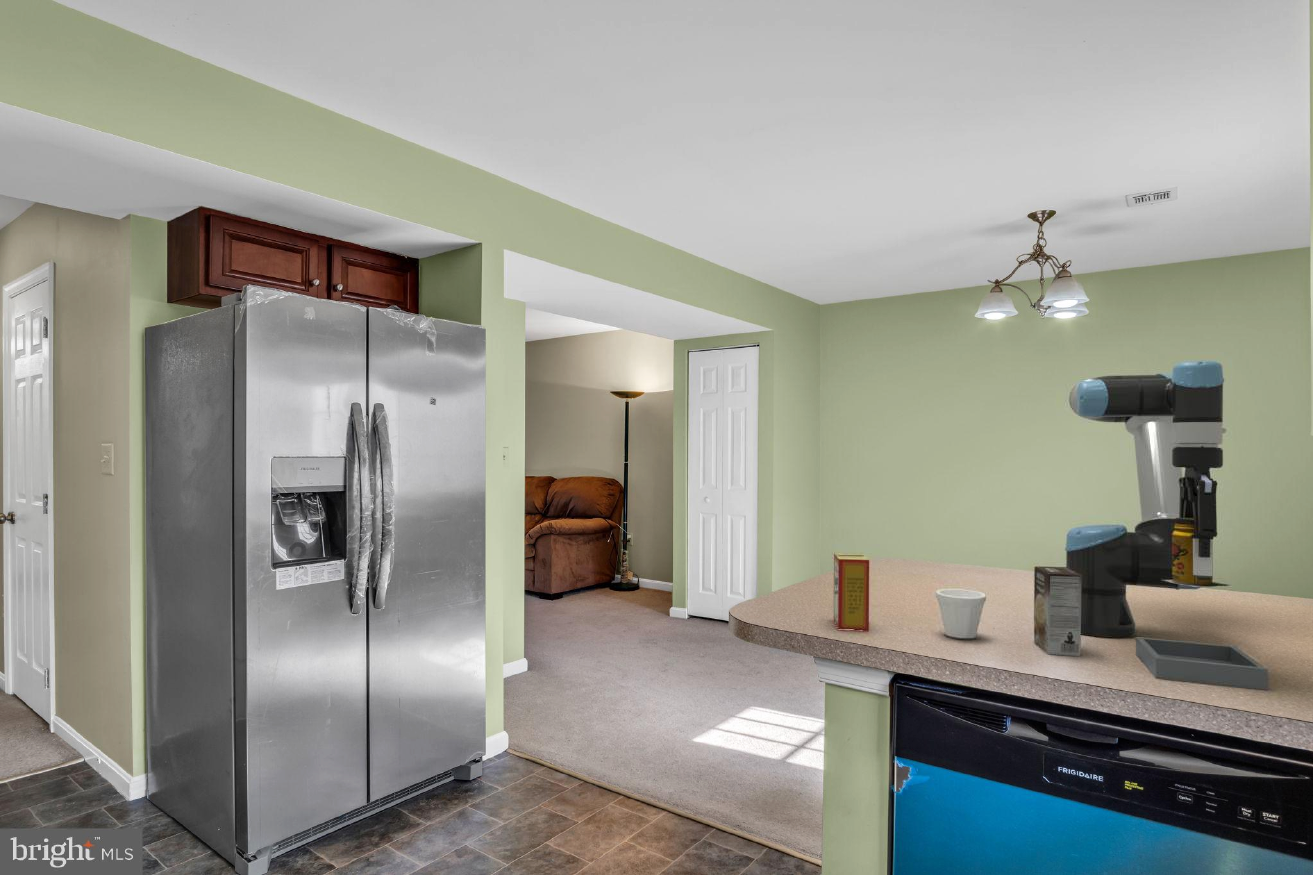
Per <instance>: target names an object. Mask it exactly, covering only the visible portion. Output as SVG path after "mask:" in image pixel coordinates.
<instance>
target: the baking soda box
mask: <svg viewBox="0 0 1313 875" xmlns="http://www.w3.org/2000/svg"><path fill="white" fill-rule="evenodd" d="M833 619H834V620H835V622H836V624H835V626H836V625H837V626H836V628H837V627H838V628H837V630H838V629H854V630H863V631H862V632H869V631H870V630H869V629H870V628H869V627H870V622H869V621H870V559H869V558H868V557H867V556H866V555H865V554H864V553H843V552H842V553H840V552H833ZM834 620H833V621H834ZM835 622H834V623H835Z"/></svg>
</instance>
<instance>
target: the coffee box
mask: <svg viewBox="0 0 1313 875" xmlns="http://www.w3.org/2000/svg"><path fill="white" fill-rule="evenodd" d="M1033 568H1034V570H1033V571H1034V573H1033V574H1034V575H1033V576H1034V579H1033V582H1034V583H1033V584H1034V585H1033V586H1034V587H1033V592H1034V594H1033V603H1034V604H1033V613H1034V614H1033V616H1034V617H1033V642H1034V643H1035V645H1037V646H1038V647H1039V648H1040V649H1042V651H1044V652H1045V653H1046V654H1047V655H1055V656H1072V657H1073V656H1074V657H1075V656H1076V657H1081V656H1082V655H1081V654H1082V653H1081V650H1082V649H1081V648H1082V643H1081V642H1082V634H1081V578H1082V575H1080V574H1078V573H1076V572H1074V571H1072V570H1070V569H1069V568H1067V567H1066V566H1034V567H1033Z"/></svg>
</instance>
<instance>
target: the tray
mask: <svg viewBox="0 0 1313 875" xmlns="http://www.w3.org/2000/svg"><path fill="white" fill-rule="evenodd" d="M1135 656H1136V657H1137V658H1138V659H1139V660H1140V662H1142V664H1143V665H1144V667H1146V669H1148V671H1149V673H1151V674H1152V676H1154V678H1155V679H1163V680H1169V681H1170V680H1172V681H1180V682H1187V683H1188V682H1189V683H1197V684H1206V685H1207V684H1209V685H1216V686H1225V687H1226V686H1227V687H1236V688H1242V689H1243V688H1244V689H1252V690H1253V689H1254V690H1262V691H1263V690H1264V691H1268V687H1269V686H1268V685H1269V684H1268V683H1269V682H1268V679H1269V676H1268V673H1269V672H1268V668H1267V667H1266V666H1264V665H1262V664H1260V662H1258V661H1256V660H1255V659H1254V658H1253V657H1251V656H1249V655H1248V654H1247V653H1246V652H1244V651H1243V650H1241V648H1239V647H1237V646H1236V645H1227V644H1215V643H1208V642H1207V643H1205V642H1204V643H1203V642H1195V641H1194V642H1193V641H1185V640H1184V641H1182V640H1174V639H1173V640H1171V639H1164V638H1163V639H1161V638H1152V637H1143V636H1142V637H1141V636H1140V637H1138V636H1135Z"/></svg>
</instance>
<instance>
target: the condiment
mask: <svg viewBox="0 0 1313 875" xmlns="http://www.w3.org/2000/svg"><path fill="white" fill-rule="evenodd" d="M1174 528H1175V531H1174V532H1173V534H1172V564H1173V565H1172V577H1173V580H1164V581H1168V582H1171V583H1176V584H1181V585H1188V586H1193V587H1201V588H1205V587H1206V588H1213V587H1228V586H1230V584H1226V583H1221V582H1215V581H1214V577H1213V569H1214V568H1213V566H1214V565H1213V559H1214V558H1213V556H1214V554H1213V551H1214V550H1213V549H1214V546H1213V541H1214V538H1213V539H1212V576H1201V575H1193V538H1191V537H1190V536H1191V535H1192V534H1194V535H1195V528H1194V518H1182V517H1181V518H1175V527H1174Z"/></svg>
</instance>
